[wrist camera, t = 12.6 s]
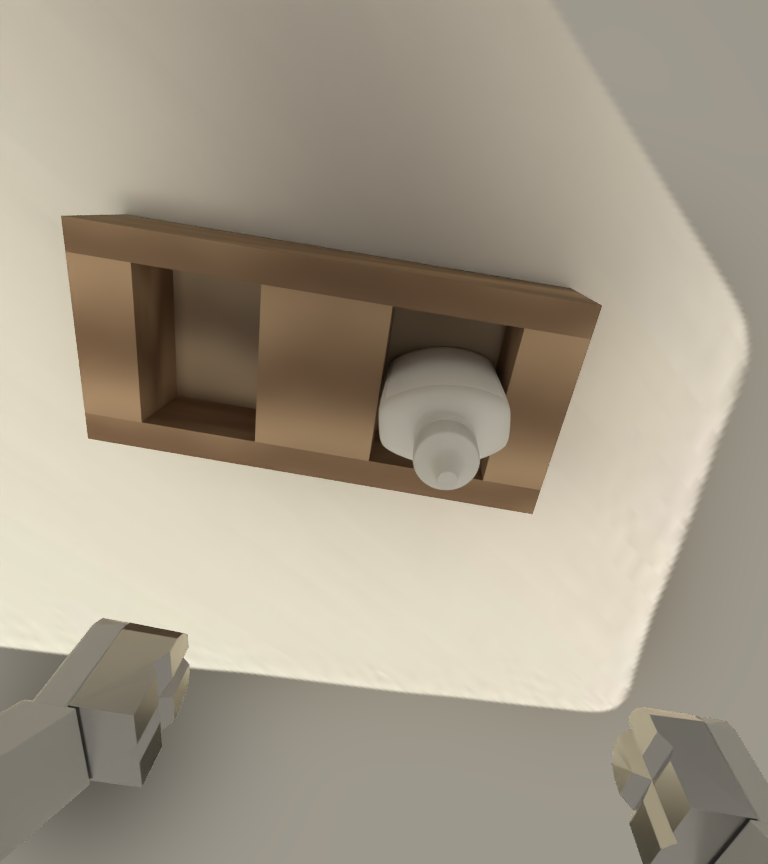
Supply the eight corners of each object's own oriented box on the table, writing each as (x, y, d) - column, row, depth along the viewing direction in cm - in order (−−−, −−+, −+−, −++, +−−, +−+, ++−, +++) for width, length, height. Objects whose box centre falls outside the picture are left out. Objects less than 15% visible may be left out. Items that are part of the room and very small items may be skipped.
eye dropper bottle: (414, 316, 26) (404, 387, 15) (504, 365, 27) (557, 467, 16) (377, 385, 28) (344, 493, 17) (463, 429, 28) (485, 561, 17)
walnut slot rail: (124, 214, 26) (61, 215, 21) (571, 288, 26) (601, 305, 21) (138, 404, 31) (88, 438, 26) (516, 468, 30) (532, 514, 26)
